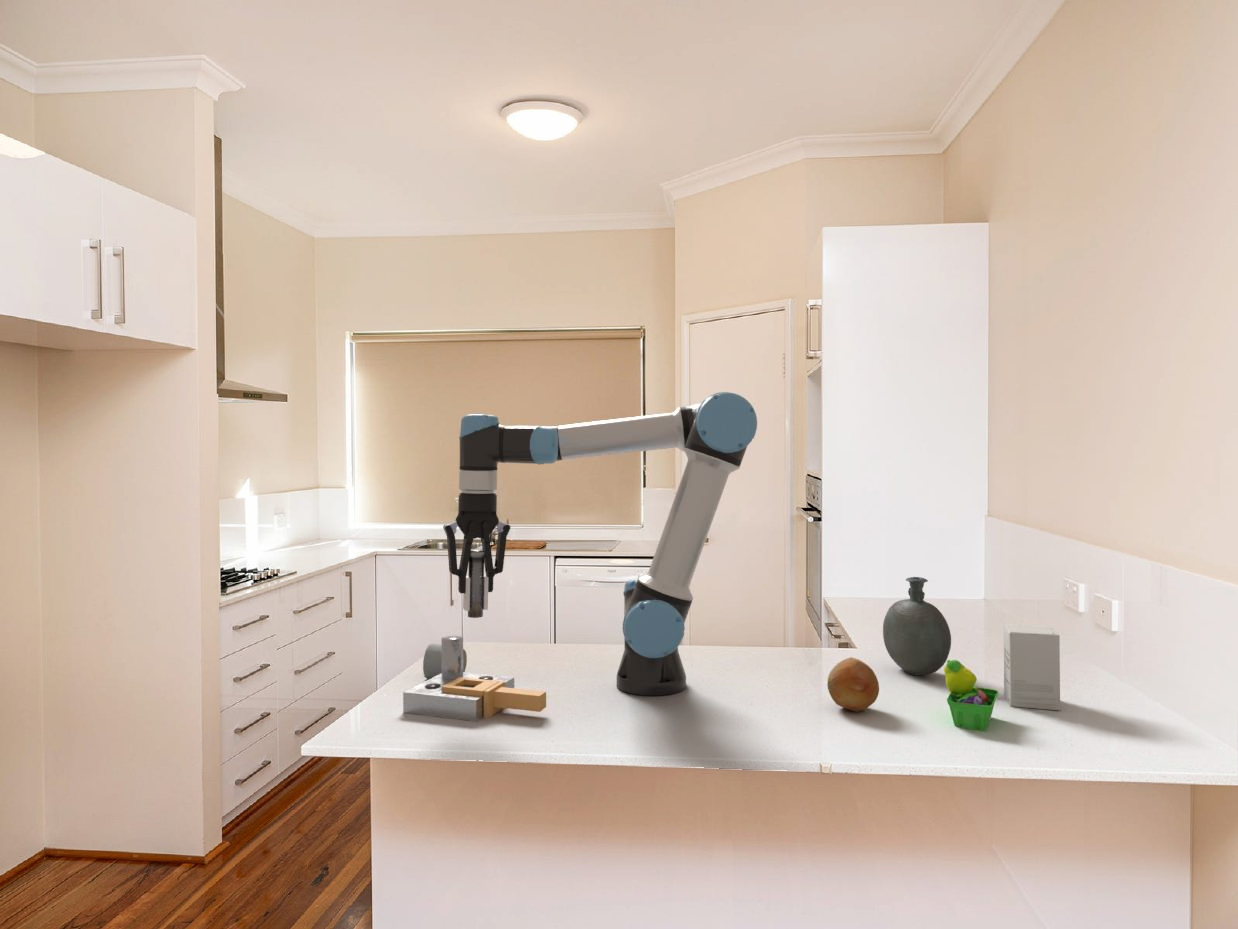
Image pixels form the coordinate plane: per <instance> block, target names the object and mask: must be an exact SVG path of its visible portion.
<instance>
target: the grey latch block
mask: <svg viewBox="0 0 1238 929" xmlns="http://www.w3.org/2000/svg"><path fill="white" fill-rule="evenodd" d="M441 645H442V673H441V674H439V675H437V676H435V677H433V678H431V679H427V680H424V681H423V682H421V683H419V684H417V685H415V686H413V687H411V688H409V689H407V690H405V691H403V694H402V696H403V697H402V700H403V701H402V704H403V705H402V706H403V708H402V709H403V710H402V712H403V714H404V713H405V714H412V715H421V716H429V717H437V718H446V719H453V720H463V721H471V722H477V721H480V719H483V718H485V717H484V696H476V695H466V694H457V693H448V692H442V686H444V685H446V684H448V683H450V682H451V681H453V680H455V679H457V678H459V677H465V678H475V679H485V680H495V681H505V687H507V688H515V676H506V675H497V674H496V675H495V674H485V673H473V672H463V649H464V637H463V636H461V635H447V636H443V637H442V638H441ZM461 687H471V688H474V687H475V686H474V685H463V686H461Z"/></svg>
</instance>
